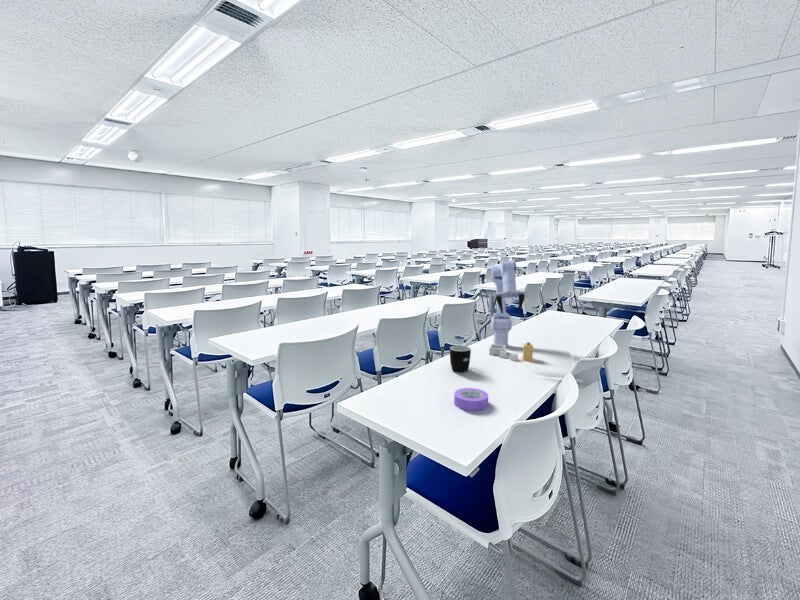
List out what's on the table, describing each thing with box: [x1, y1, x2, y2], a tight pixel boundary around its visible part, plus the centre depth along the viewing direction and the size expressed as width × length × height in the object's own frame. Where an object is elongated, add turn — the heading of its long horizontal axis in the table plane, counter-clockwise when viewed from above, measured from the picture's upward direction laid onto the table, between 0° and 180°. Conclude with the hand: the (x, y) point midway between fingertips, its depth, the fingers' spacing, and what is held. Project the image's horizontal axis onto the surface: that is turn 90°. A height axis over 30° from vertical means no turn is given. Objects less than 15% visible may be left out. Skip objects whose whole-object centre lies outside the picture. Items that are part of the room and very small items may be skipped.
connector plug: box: [522, 341, 534, 362], centre depth 176 cm, size 4×4×8 cm
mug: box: [449, 344, 472, 374], centre depth 166 cm, size 12×9×10 cm
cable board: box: [488, 343, 535, 363], centre depth 181 cm, size 16×22×4 cm
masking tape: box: [453, 387, 489, 412], centre depth 133 cm, size 12×12×4 cm
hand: (510, 312), depth 168 cm, fingers open, 7 cm apart
